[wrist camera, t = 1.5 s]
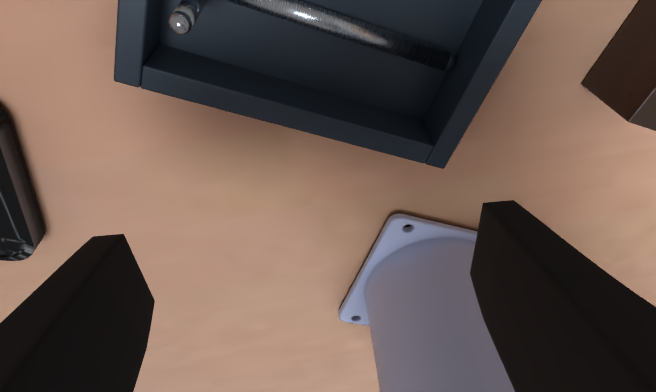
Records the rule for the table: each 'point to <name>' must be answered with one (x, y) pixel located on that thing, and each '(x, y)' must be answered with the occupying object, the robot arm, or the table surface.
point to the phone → (16, 199)
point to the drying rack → (328, 63)
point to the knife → (629, 68)
